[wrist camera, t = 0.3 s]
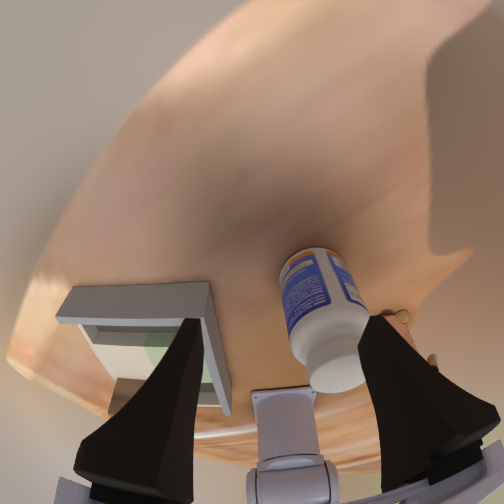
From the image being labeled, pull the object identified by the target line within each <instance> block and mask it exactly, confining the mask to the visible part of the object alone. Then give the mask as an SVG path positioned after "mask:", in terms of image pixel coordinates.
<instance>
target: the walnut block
mask: <svg viewBox="0 0 504 504" xmlns="http://www.w3.org/2000/svg"><path fill="white" fill-rule="evenodd" d="M145 381H146V380H139V379H126V378H117V382H116V385H115V388H114V392H113V395H112V399H111V403H110V406H109V410H108V414H109V415H110V416H111V417H112V416H113V415H115V414H116V413H117V412H118V411H119V410H120V409H121V408H122V407H123V406H124V405H125V404H126V403H127V402H128V401H129V400H130V399H131V398H132V397H133V395H134V394H135V393H136V392H137V391H138V390H139V389H140V387H141V386H142V385H143V384H144V382H145Z"/></svg>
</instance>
